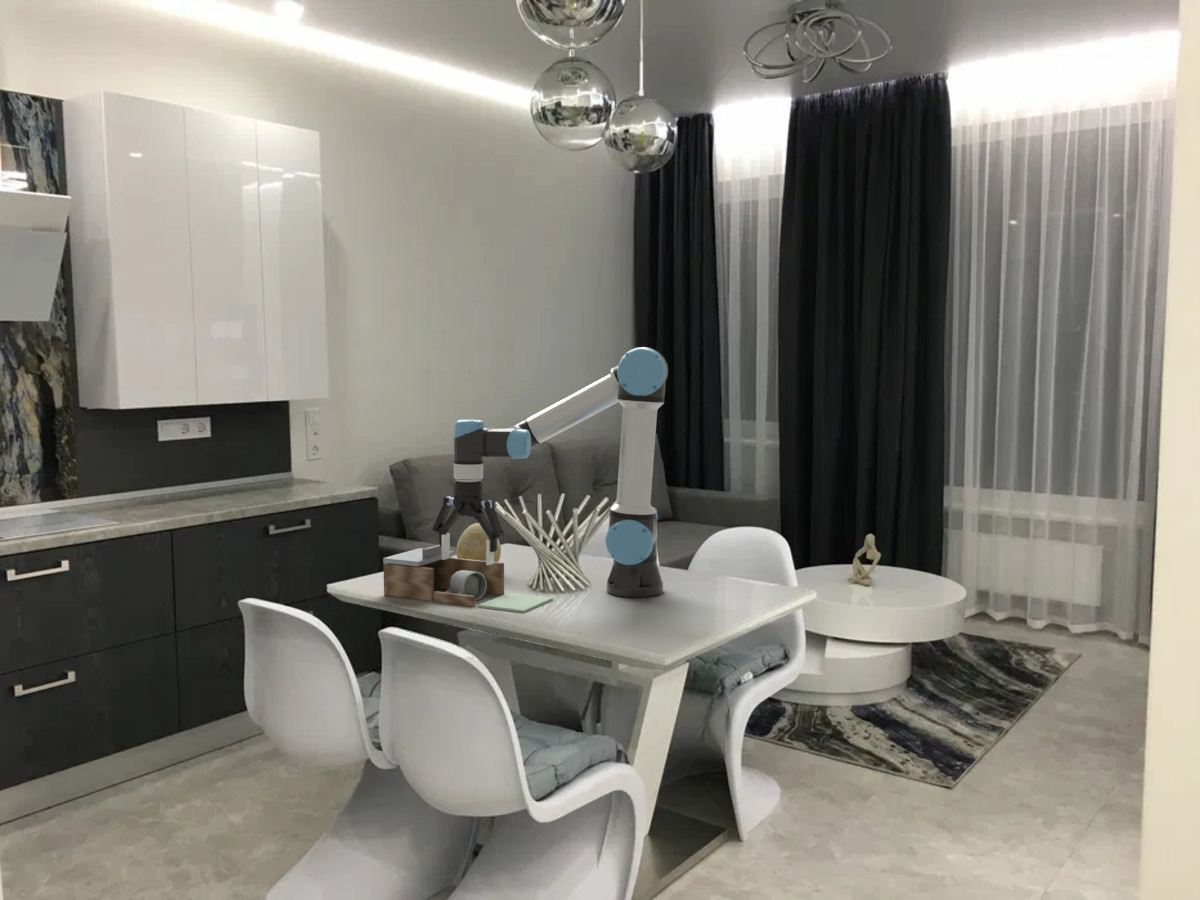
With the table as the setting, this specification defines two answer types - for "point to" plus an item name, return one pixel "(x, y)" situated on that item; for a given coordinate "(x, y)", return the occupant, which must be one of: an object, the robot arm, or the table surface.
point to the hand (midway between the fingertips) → (467, 561)
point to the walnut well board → (439, 580)
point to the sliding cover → (417, 556)
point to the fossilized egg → (475, 544)
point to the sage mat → (515, 602)
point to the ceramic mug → (468, 583)
